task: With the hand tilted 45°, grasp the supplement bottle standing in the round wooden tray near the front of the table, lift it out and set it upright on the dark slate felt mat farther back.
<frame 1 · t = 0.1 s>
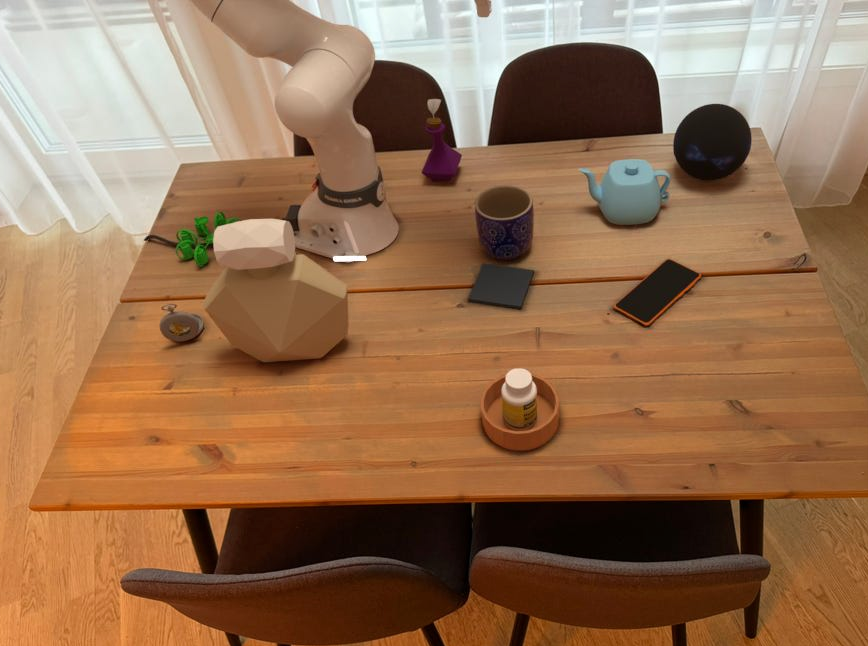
hand: (493, 0, 110), 48 cm above the table, tool pointing down, fingers open, 8 cm apart
supplement bottle: (520, 418, 118), resting on round wooden tray
decorative sphere: (706, 175, 156), on the table
faceted beige jar: (295, 349, 133), on the table
chandelier: (214, 247, 155), on the table
planter: (506, 249, 146), on the table
pocket watch: (187, 335, 138), on the table
round wooden tray: (520, 419, 118), on the table
smartphone: (657, 293, 134), on the table
mat: (501, 287, 139), on the table
perfume bottle: (443, 177, 165), on the table
teapot: (622, 210, 151), on the table
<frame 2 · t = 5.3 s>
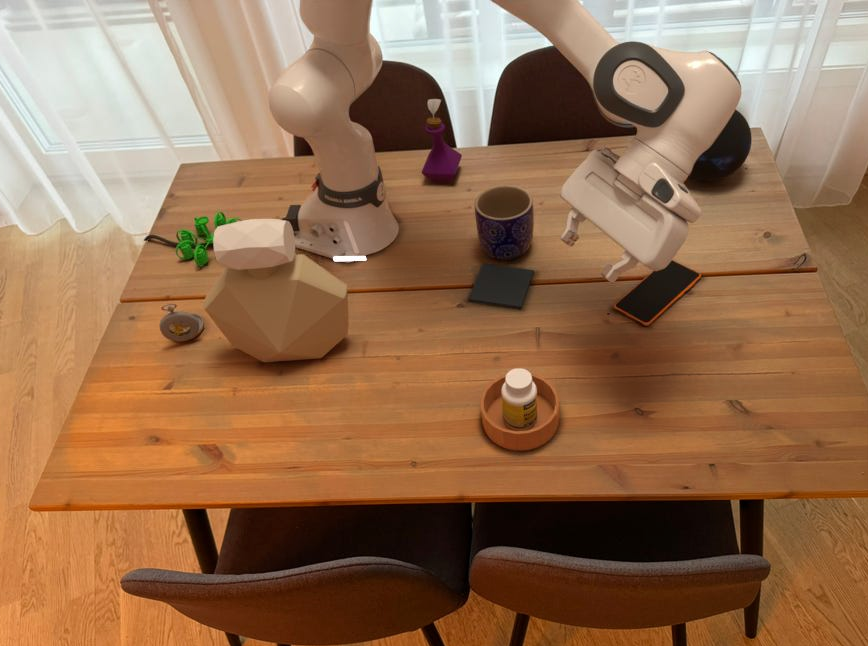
hand: (585, 260, 104), 25 cm above the table, tool tilted 45°, fingers open, 8 cm apart
nothing on the table moved.
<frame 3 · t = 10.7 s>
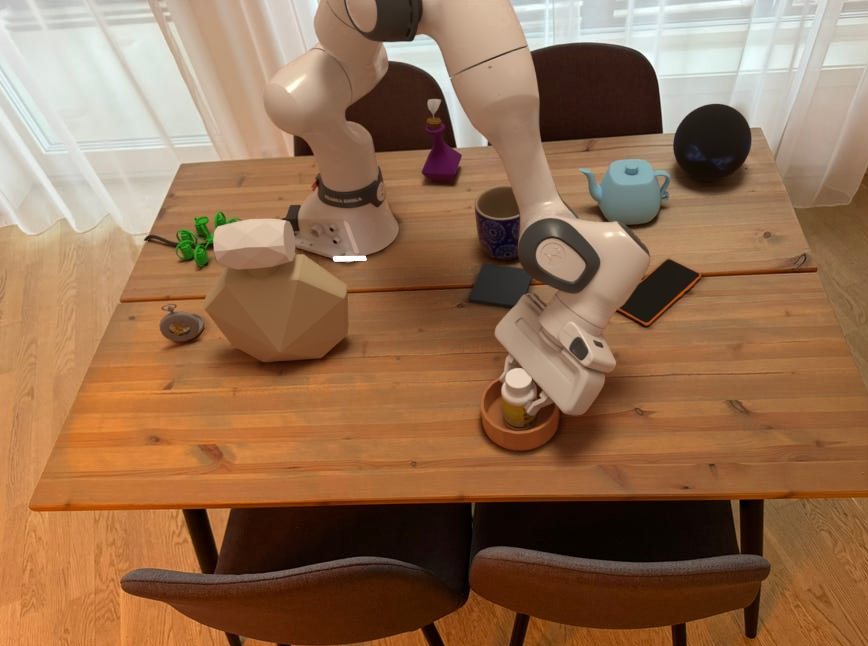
hand: (515, 398, 114), 6 cm above the table, tool tilted 45°, fingers closed on supplement bottle, 5 cm apart
supplement bottle: (520, 418, 118), resting on round wooden tray, touching gripper
everything else where it was.
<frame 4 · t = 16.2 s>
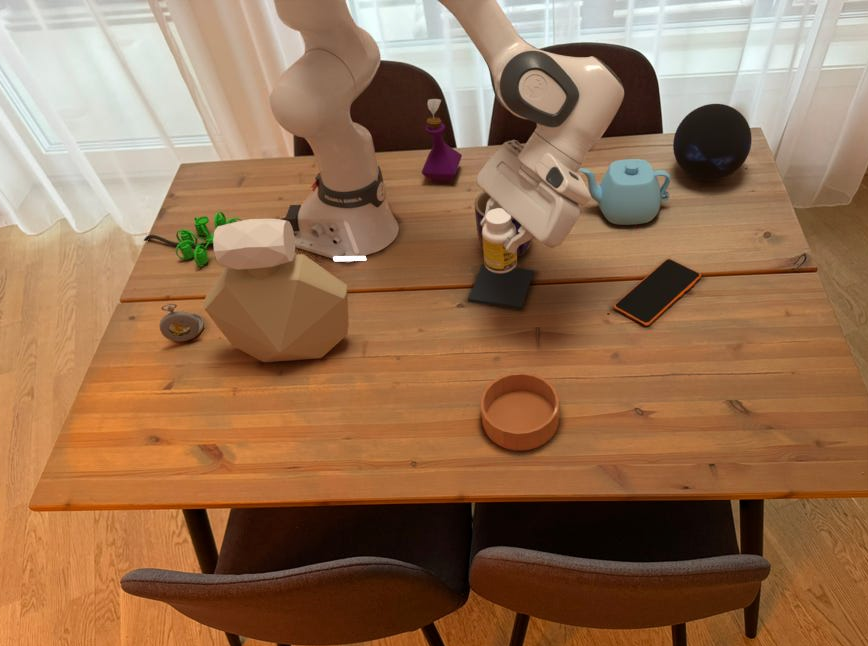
hand: (496, 239, 119), 19 cm above the table, tool tilted 45°, fingers closed on supplement bottle, 5 cm apart
supplement bottle: (501, 264, 123), point 13 cm above the table, touching gripper
everything else where it was.
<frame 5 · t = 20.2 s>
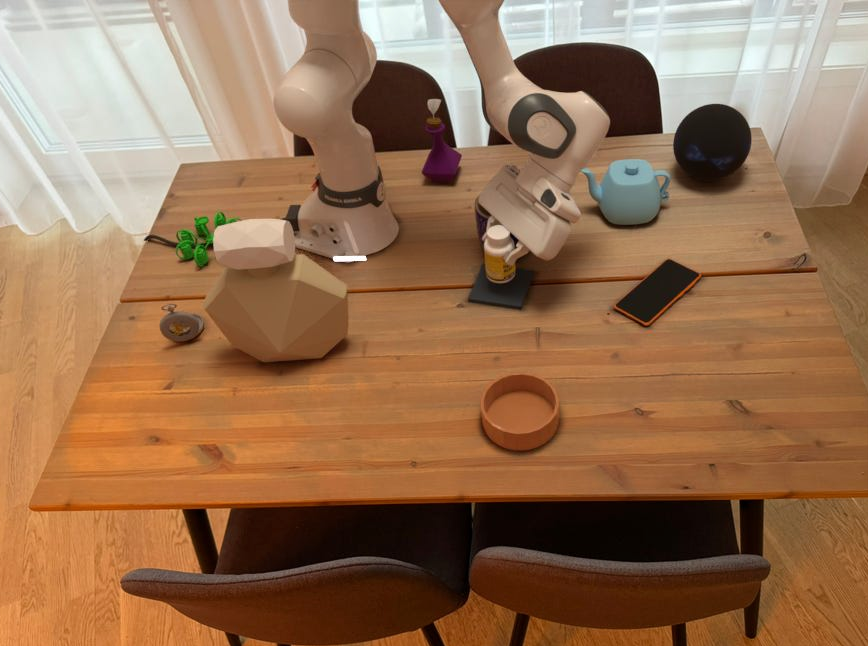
hand: (496, 252, 132), 9 cm above the table, tool tilted 45°, fingers closed on supplement bottle, 5 cm apart
supplement bottle: (501, 275, 136), point 3 cm above the table, touching gripper
planter: (506, 249, 146), on the table, touching gripper
everything else where it was.
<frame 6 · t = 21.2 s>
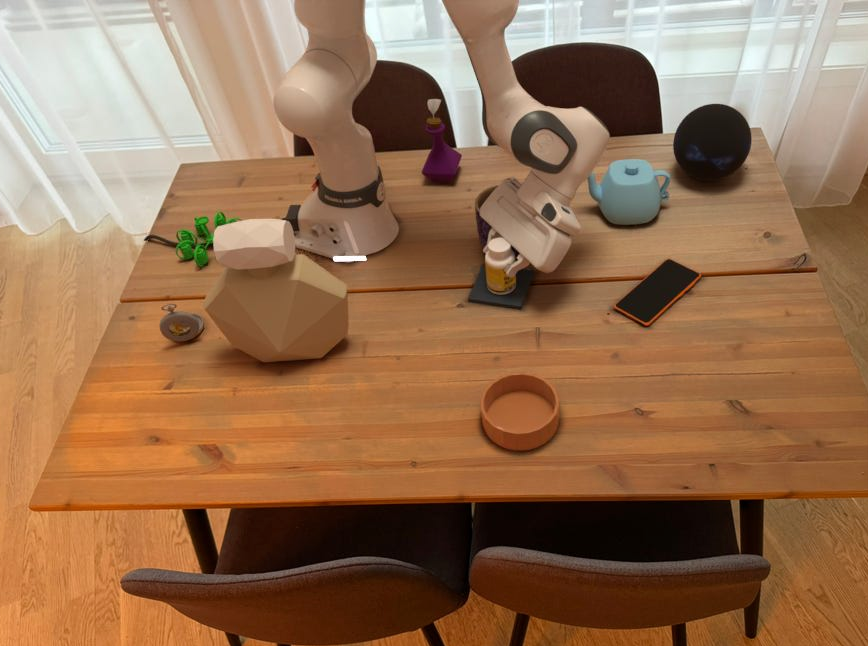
hand: (497, 264, 134), 6 cm above the table, tool tilted 45°, fingers closed on supplement bottle, 5 cm apart
supplement bottle: (501, 286, 138), point 1 cm above the table, touching gripper, mat
everything else where it was.
when the fingers open (6 cm above the table, at t = 21.8 s): supplement bottle stays where it is, resting on mat.
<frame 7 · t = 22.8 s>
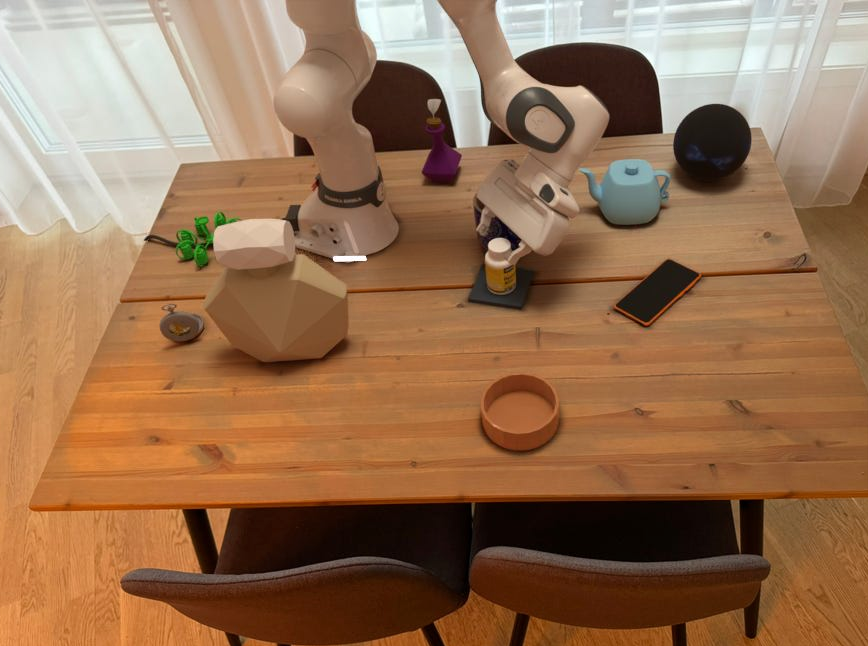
hand: (494, 247, 132), 10 cm above the table, tool tilted 45°, fingers open, 8 cm apart
supplement bottle: (501, 286, 138), point 1 cm above the table, touching mat
planter: (505, 245, 147), on the table
everything else where it was.
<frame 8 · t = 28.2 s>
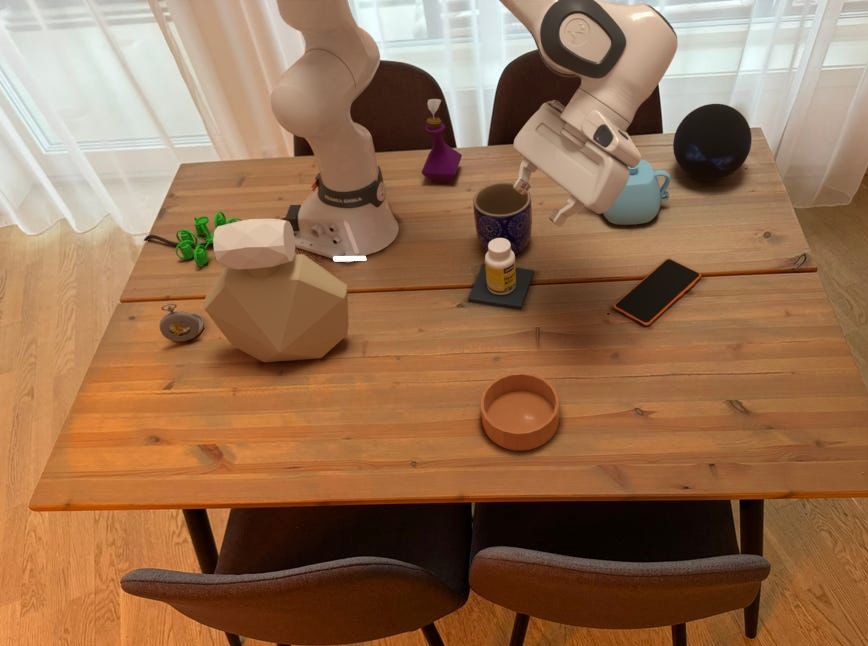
hand: (535, 207, 110), 27 cm above the table, tool tilted 45°, fingers open, 8 cm apart
nothing on the table moved.
at the end: supplement bottle inside the target area on the mat (0.5 cm from its centre), point 0.6 cm above the mat's base; supplement bottle tilted 0°; the gripper is holding nothing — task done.
